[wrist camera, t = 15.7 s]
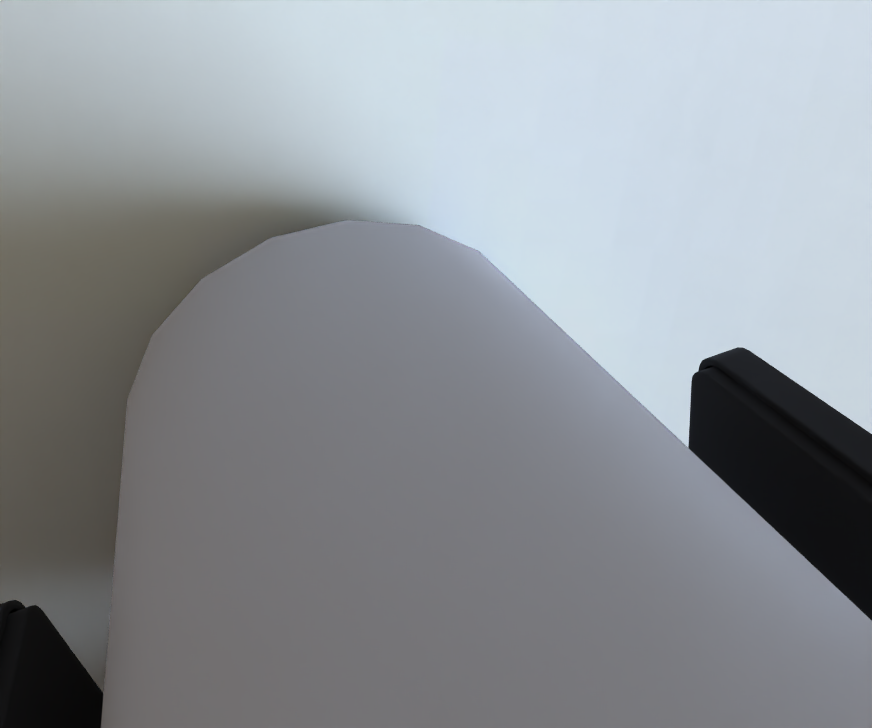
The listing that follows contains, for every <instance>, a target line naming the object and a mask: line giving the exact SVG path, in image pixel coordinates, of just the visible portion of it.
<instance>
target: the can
mask: <svg viewBox="0 0 872 728" xmlns="http://www.w3.org/2000/svg"><path fill="white" fill-rule="evenodd" d="M101 728H872V620H870V619H869V618H868V617H867V616H866V615H865V614H864V613H863V612H862V611H861V610H860V609H859V608H858V607H857V606H856V605H855V604H853V603H852V602H851V601H850V600H849V599H848V598H847V597H846V596H845V595H844V594H843V593H842V592H841V591H840V590H839V589H838V588H836V587H835V586H834V585H833V584H832V583H831V582H830V581H829V580H828V579H827V578H826V577H825V576H824V575H823V574H822V573H821V572H819V571H818V570H817V569H816V568H815V567H814V566H813V565H812V564H811V563H810V562H809V561H808V560H807V559H806V558H805V557H804V556H802V555H801V554H800V553H799V552H798V551H797V550H796V549H795V548H794V547H793V546H792V545H791V544H790V543H789V542H788V541H786V540H785V539H784V538H783V537H782V536H781V535H780V534H779V533H778V532H777V531H776V530H775V529H774V528H773V527H772V526H771V525H769V524H768V523H767V522H766V521H765V520H764V519H763V518H762V517H761V516H760V515H759V514H758V513H757V512H756V511H755V510H754V509H752V508H751V507H750V506H749V505H748V504H747V503H746V502H745V501H744V500H743V499H742V498H741V497H740V496H739V495H738V494H737V493H735V492H734V491H733V490H732V489H731V488H730V487H729V486H728V485H727V484H726V483H725V482H724V481H723V480H722V479H721V478H720V477H718V476H717V475H716V474H715V473H714V472H713V471H712V470H711V469H710V468H709V467H708V466H707V465H706V464H705V463H704V462H702V461H701V460H700V459H699V458H698V457H697V456H696V455H695V454H694V453H693V452H692V451H691V450H690V449H689V448H688V447H687V446H685V445H684V444H683V443H682V442H681V441H680V440H679V439H678V438H677V437H676V436H675V435H674V434H673V433H672V432H671V431H670V430H668V429H667V428H666V427H665V426H664V425H663V424H662V423H661V422H660V421H659V420H658V419H657V418H656V417H655V416H654V415H653V414H651V413H650V412H649V411H648V410H647V409H646V408H645V407H644V406H643V405H642V404H641V403H640V402H639V401H638V400H637V399H636V398H634V397H633V396H632V395H631V394H630V393H629V392H628V391H627V390H626V389H625V388H624V387H623V386H622V385H621V384H620V383H618V382H617V381H616V380H615V379H614V378H613V377H612V376H611V375H610V374H609V373H608V372H607V371H606V370H605V369H604V368H603V367H601V366H600V365H599V364H598V363H597V362H596V361H595V360H594V359H593V358H592V357H591V356H590V355H589V354H588V353H587V352H586V351H584V350H583V349H582V348H581V347H580V346H579V345H578V344H577V343H576V342H575V341H574V340H573V339H572V338H571V337H570V336H569V335H567V334H566V333H565V332H564V331H563V330H562V329H561V328H560V327H559V326H558V325H557V324H556V323H555V322H554V321H553V320H552V319H550V318H549V317H548V316H547V315H546V314H545V313H544V312H543V311H542V310H541V309H540V308H539V307H538V306H537V305H536V304H534V303H533V302H532V301H531V300H530V299H529V298H528V297H527V296H526V295H525V294H524V293H523V292H522V291H521V290H520V289H519V288H517V287H516V286H515V285H514V284H513V283H512V282H511V281H510V280H509V279H508V278H507V277H506V276H505V275H504V274H503V273H502V272H500V271H499V270H498V269H497V268H496V267H495V266H494V265H493V264H492V263H491V262H490V261H489V260H488V259H487V258H486V257H485V256H483V255H482V254H481V253H480V252H479V251H477V250H475V249H473V248H470V247H468V246H466V245H463V244H461V243H459V242H457V241H454V240H452V239H450V238H447V237H445V236H443V235H440V234H438V233H436V232H433V231H431V230H429V229H427V228H424V227H422V226H420V225H409V224H396V223H382V222H369V221H356V220H343V221H339V222H335V223H331V224H327V225H322V226H318V227H314V228H310V229H306V230H301V231H297V232H293V233H289V234H284V235H280V236H276V237H272V238H269V239H267V240H266V241H264V242H262V243H261V244H259V245H257V246H256V247H254V248H252V249H251V250H249V251H247V252H245V253H244V254H242V255H240V256H239V257H237V258H235V259H234V260H232V261H230V262H229V263H227V264H225V265H224V266H222V267H220V268H218V269H217V270H215V271H213V272H212V273H210V274H208V275H207V276H205V277H203V278H202V279H201V280H200V281H199V282H198V283H197V284H196V286H195V287H194V288H193V289H192V290H191V291H190V292H189V294H188V295H187V296H186V297H185V298H184V299H183V300H182V302H181V303H180V304H179V305H178V306H177V307H176V308H175V310H174V311H173V312H172V313H171V314H170V315H169V316H168V318H167V319H166V320H165V321H164V322H163V323H162V324H161V326H160V327H159V328H158V329H157V330H156V331H155V332H154V334H153V335H152V336H151V339H150V342H149V344H148V347H147V349H146V352H145V355H144V357H143V360H142V362H141V365H140V368H139V370H138V373H137V375H136V378H135V381H134V383H133V386H132V388H131V391H130V394H129V396H128V399H127V410H126V422H125V435H124V447H123V459H122V472H121V484H120V497H119V509H118V521H117V534H116V546H115V558H114V571H113V583H112V595H111V608H110V620H109V632H108V645H107V657H106V669H105V682H104V694H103V707H102V719H101Z"/></svg>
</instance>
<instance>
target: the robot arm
mask: <svg viewBox="0 0 872 728" xmlns="http://www.w3.org/2000/svg"><path fill="white" fill-rule="evenodd" d="M689 449H690V450H691V451H692V452H693V453H694V454H695V455H696V456H697V457H698V458H699V459H700V460H701V461H702V462H704V463H705V464H706V465H707V466H708V467H709V468H710V469H711V470H712V471H713V472H714V473H715V474H716V475H717V476H718V477H720V478H721V479H722V480H723V481H724V482H725V483H726V484H727V485H728V486H729V487H730V488H731V489H732V490H733V491H734V492H735V493H737V494H738V495H739V496H740V497H741V498H742V499H743V500H744V501H745V502H746V503H747V504H748V505H749V506H750V507H751V508H752V509H754V510H755V511H756V512H757V513H758V514H759V515H760V516H761V517H762V518H763V519H764V520H765V521H766V522H767V523H768V524H769V525H771V526H772V527H773V528H774V529H775V530H776V531H777V532H778V533H779V534H780V535H781V536H782V537H783V538H784V539H785V540H786V541H788V542H789V543H790V544H791V545H792V546H793V547H794V548H795V549H796V550H797V551H798V552H799V553H800V554H801V555H802V556H804V557H805V558H806V559H807V560H808V561H809V562H810V563H811V564H812V565H813V566H814V567H815V568H816V569H817V570H818V571H819V572H821V573H822V574H823V575H824V576H825V577H826V578H827V579H828V580H829V581H830V582H831V583H832V584H833V585H834V586H835V587H836V588H838V589H839V590H840V591H841V592H842V593H843V594H844V595H845V596H846V597H847V598H848V599H849V600H850V601H851V602H852V603H853V604H855V605H856V606H857V607H858V608H859V609H860V610H861V611H862V612H863V613H864V614H865V615H866V616H867V617H868V618H869V619H870V620H872V434H870V433H869V432H868V431H866V430H865V429H863V428H862V427H860V426H859V425H857V424H856V423H854V422H853V421H851V420H850V419H849V418H847V417H846V416H844V415H843V414H841V413H840V412H838V411H837V410H835V409H834V408H832V407H831V406H829V405H828V404H827V403H825V402H824V401H822V400H821V399H819V398H818V397H816V396H815V395H813V394H812V393H810V392H809V391H807V390H806V389H805V388H803V387H802V386H800V385H799V384H797V383H796V382H794V381H793V380H791V379H790V378H788V377H787V376H786V375H784V374H783V373H781V372H780V371H778V370H777V369H775V368H774V367H772V366H771V365H769V364H768V363H766V362H765V361H764V360H762V359H761V358H759V357H758V356H756V355H755V354H753V353H752V352H750V351H749V350H747V349H745V348H735V349H732V350H729V351H726V352H724V353H721V354H718V355H715V356H712V357H709V358H707V359H705V360H703V361H702V362H701V364H700V366H699V372H696V373H695V374H694V375H693V377H692V386H691V407H690V429H689ZM102 707H103V693H102V691H101V690H100V688H99V687H98V686H97V684H96V683H95V682H94V680H93V679H92V677H91V676H90V675H89V673H88V672H87V671H86V669H85V668H84V667H83V665H82V664H81V662H80V661H79V660H78V658H77V657H76V656H75V654H74V653H73V652H72V650H71V649H70V647H69V646H68V645H67V643H66V642H65V641H64V639H63V638H62V637H61V635H60V634H59V632H58V631H57V630H56V628H55V627H54V626H53V624H52V623H51V622H50V620H49V619H48V617H47V616H46V615H45V613H44V612H43V611H42V610H41V609H40V608H39V607H38V606H36V605H33V606H30V607H27V608H26V607H25V606H24V605H23V604H22V603H21V602H19V601H17V600H12V601H8V602H5V603H2V604H0V728H101V719H102Z"/></svg>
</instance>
